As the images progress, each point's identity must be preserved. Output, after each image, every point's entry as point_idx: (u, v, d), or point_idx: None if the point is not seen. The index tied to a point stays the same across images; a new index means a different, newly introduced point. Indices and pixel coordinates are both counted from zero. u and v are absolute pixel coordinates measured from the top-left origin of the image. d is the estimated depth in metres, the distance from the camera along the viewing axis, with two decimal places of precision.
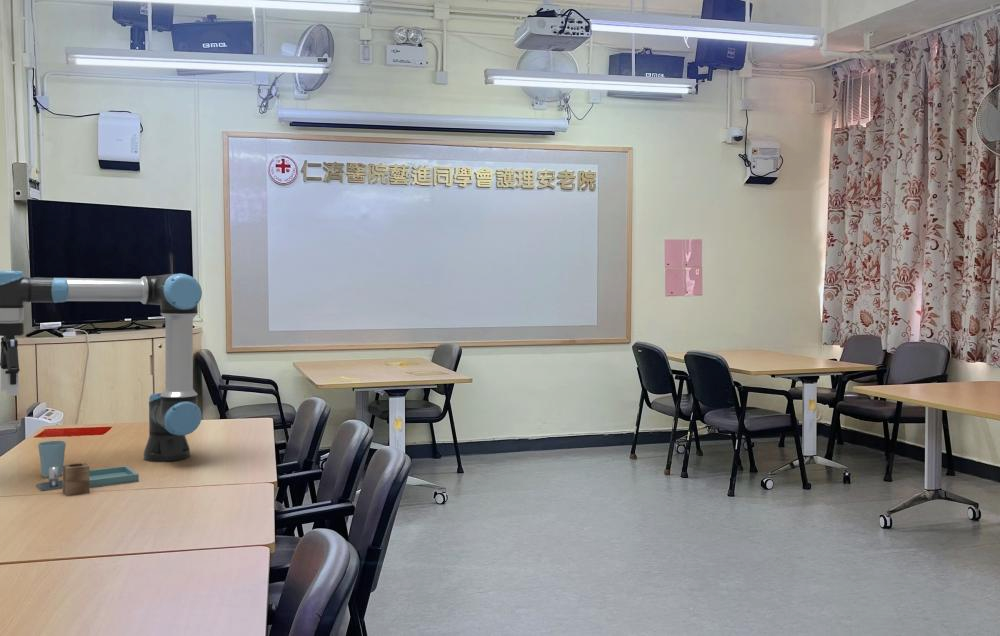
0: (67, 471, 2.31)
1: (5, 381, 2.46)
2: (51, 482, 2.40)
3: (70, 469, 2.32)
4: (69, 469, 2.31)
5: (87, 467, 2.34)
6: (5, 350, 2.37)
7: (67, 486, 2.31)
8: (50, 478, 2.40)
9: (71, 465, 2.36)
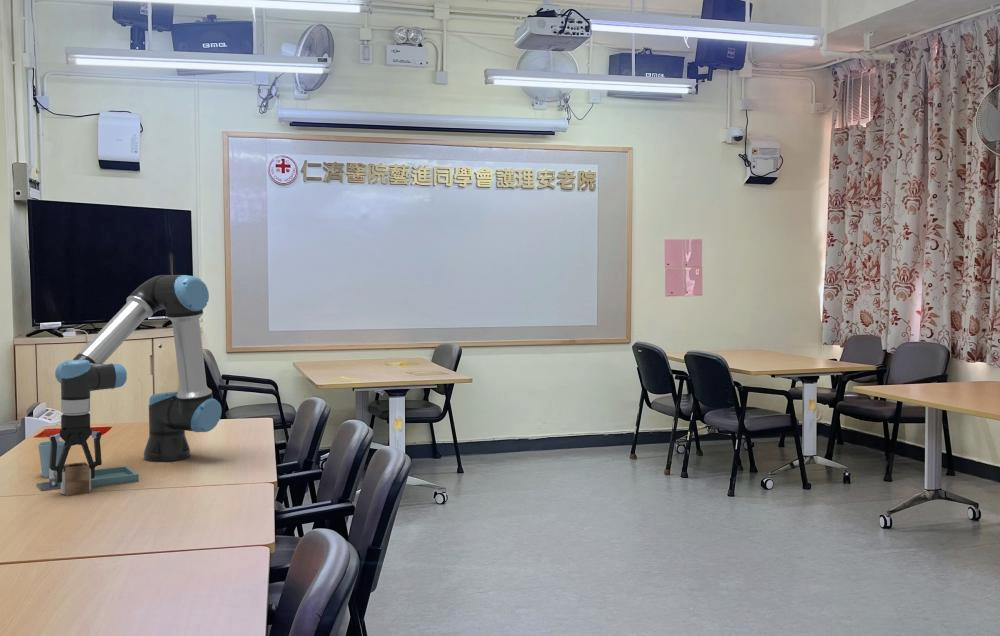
0: (67, 471, 2.31)
1: None
2: (51, 482, 2.40)
3: (70, 469, 2.32)
4: (69, 469, 2.31)
5: (87, 467, 2.34)
6: (64, 443, 2.34)
7: (67, 486, 2.31)
8: (50, 478, 2.40)
9: (71, 465, 2.36)
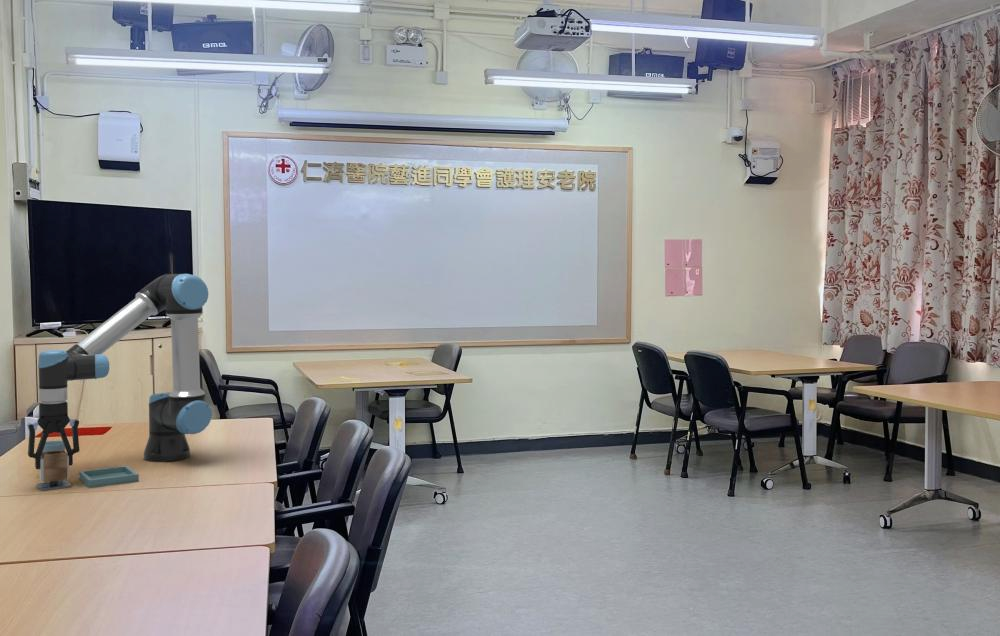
0: (45, 458, 2.37)
1: None
2: (51, 482, 2.40)
3: (48, 456, 2.38)
4: (47, 456, 2.38)
5: (65, 454, 2.41)
6: None
7: (45, 473, 2.38)
8: None
9: (49, 452, 2.42)
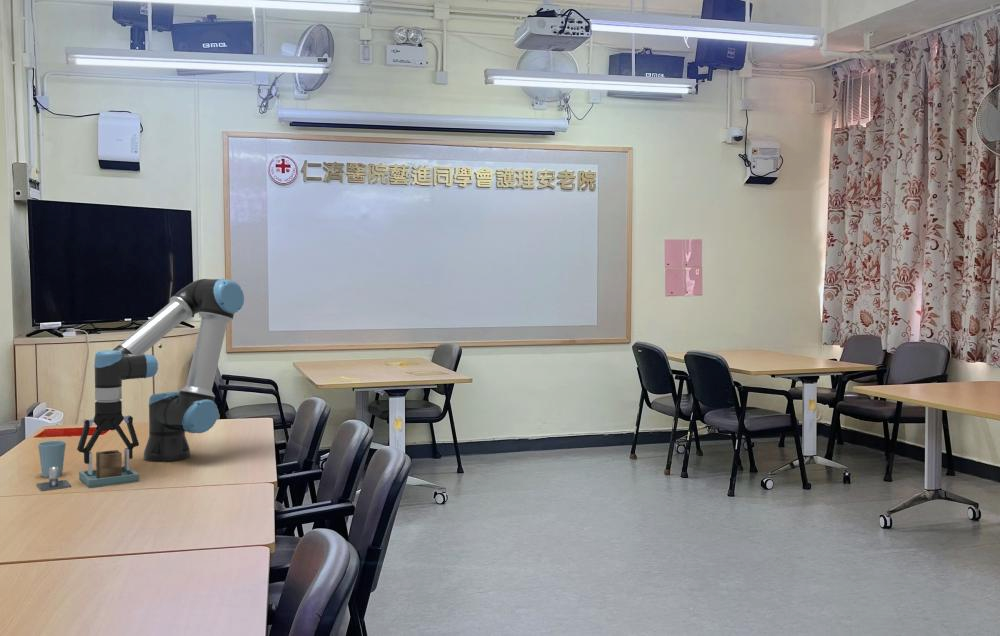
0: (101, 458, 2.46)
1: (125, 460, 2.53)
2: (51, 482, 2.40)
3: (104, 456, 2.46)
4: (103, 456, 2.46)
5: (119, 454, 2.49)
6: (96, 428, 2.49)
7: (101, 472, 2.46)
8: (50, 478, 2.40)
9: (104, 452, 2.51)
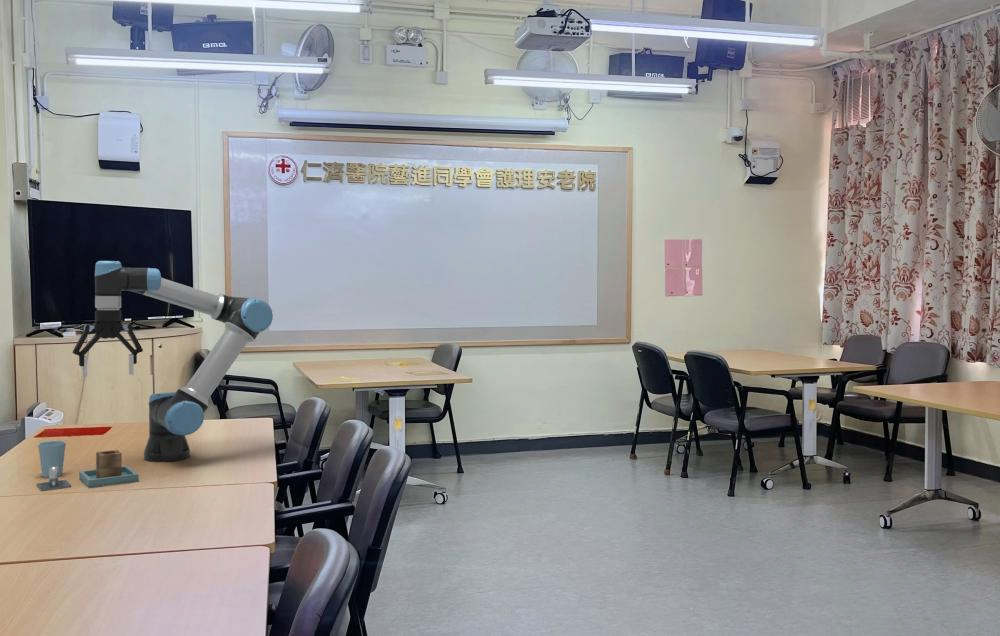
0: (101, 458, 2.46)
1: (129, 366, 2.61)
2: (51, 482, 2.40)
3: (104, 456, 2.46)
4: (103, 456, 2.46)
5: (119, 454, 2.49)
6: (95, 334, 2.55)
7: (101, 472, 2.46)
8: (50, 478, 2.40)
9: (104, 452, 2.51)
